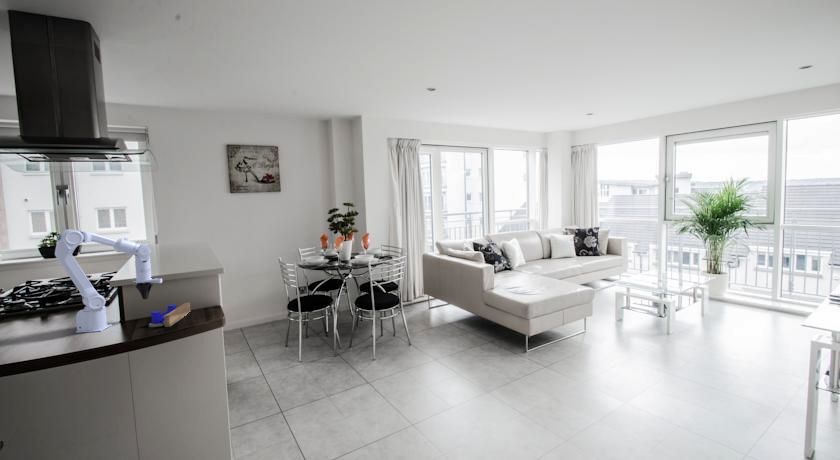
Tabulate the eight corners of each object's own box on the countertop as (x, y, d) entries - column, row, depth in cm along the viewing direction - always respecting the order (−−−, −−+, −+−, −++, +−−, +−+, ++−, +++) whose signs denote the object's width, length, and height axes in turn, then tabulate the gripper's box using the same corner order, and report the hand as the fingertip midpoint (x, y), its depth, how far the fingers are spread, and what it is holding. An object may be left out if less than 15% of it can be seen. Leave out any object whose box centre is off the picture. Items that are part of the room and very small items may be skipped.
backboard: (165, 327, 166) (164, 315, 166) (186, 312, 187) (185, 302, 187) (170, 326, 167) (169, 315, 166) (190, 312, 187) (189, 302, 187)
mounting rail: (149, 327, 167) (148, 322, 166) (169, 314, 185) (169, 310, 184) (166, 326, 168) (166, 321, 168) (185, 313, 186) (184, 309, 186)
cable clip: (167, 317, 181) (166, 304, 180) (176, 317, 181) (176, 304, 180) (148, 325, 169) (147, 312, 168) (158, 325, 169) (157, 312, 168)
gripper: (164, 267, 182) (166, 295, 183) (131, 269, 180) (133, 297, 181) (157, 270, 175) (159, 299, 176) (122, 272, 173) (124, 301, 174)
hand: (145, 298), depth 178 cm, fingers closed
